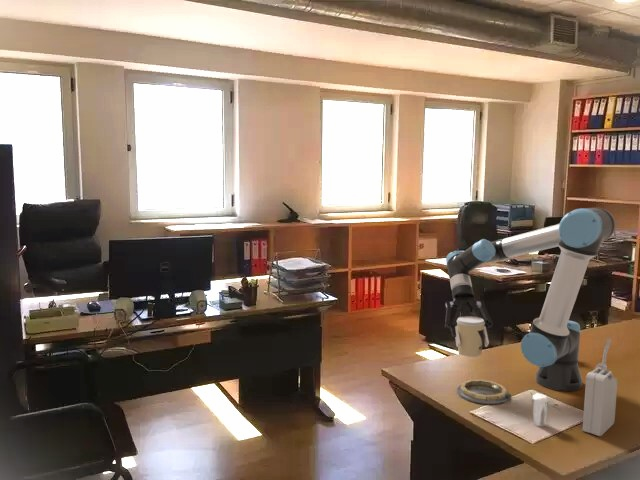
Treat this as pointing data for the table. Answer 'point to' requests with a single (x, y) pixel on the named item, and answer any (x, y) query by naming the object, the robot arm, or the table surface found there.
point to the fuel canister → (600, 398)
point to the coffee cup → (470, 335)
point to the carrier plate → (483, 392)
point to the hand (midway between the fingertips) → (472, 344)
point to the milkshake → (539, 409)
